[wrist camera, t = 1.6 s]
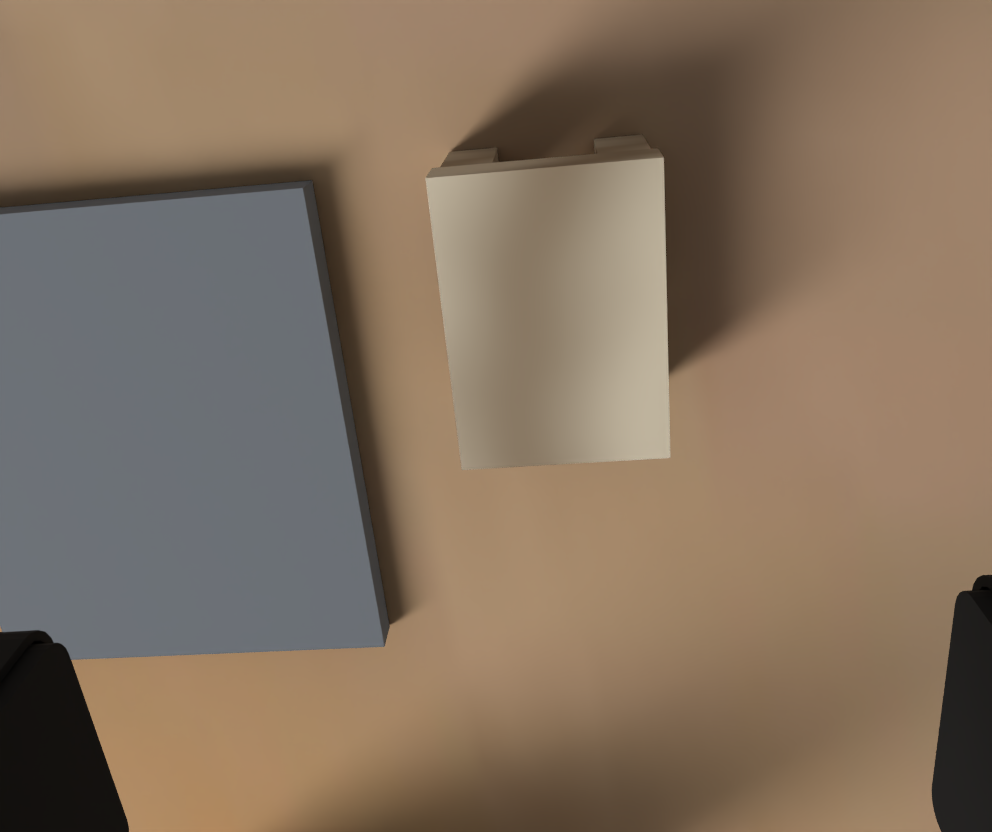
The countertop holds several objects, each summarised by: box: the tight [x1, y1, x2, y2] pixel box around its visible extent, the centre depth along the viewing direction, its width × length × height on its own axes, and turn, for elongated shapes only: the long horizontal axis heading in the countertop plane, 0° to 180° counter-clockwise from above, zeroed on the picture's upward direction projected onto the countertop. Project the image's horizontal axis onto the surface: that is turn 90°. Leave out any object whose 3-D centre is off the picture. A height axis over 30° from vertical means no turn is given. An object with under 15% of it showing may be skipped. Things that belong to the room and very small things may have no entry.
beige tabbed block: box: [425, 135, 670, 470], centre depth 23 cm, size 5×7×4 cm
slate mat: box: [0, 180, 390, 660], centre depth 27 cm, size 12×14×1 cm
